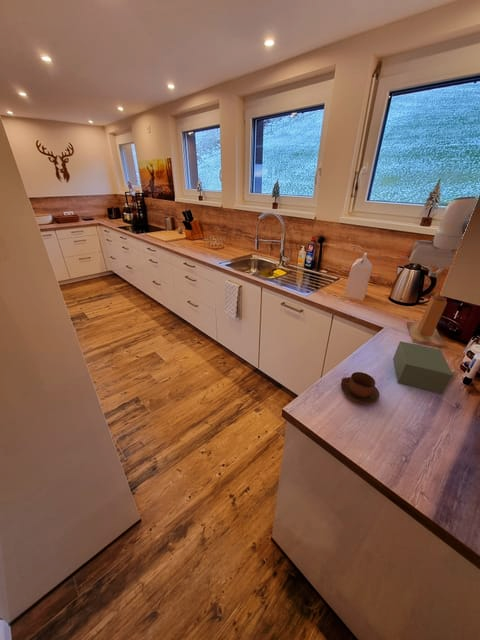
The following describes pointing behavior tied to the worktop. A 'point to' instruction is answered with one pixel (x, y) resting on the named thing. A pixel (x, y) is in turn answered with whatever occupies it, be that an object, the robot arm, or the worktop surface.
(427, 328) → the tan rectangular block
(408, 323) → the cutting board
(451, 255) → the robot arm
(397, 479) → the worktop surface
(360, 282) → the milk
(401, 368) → the green box
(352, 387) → the cup and saucer
